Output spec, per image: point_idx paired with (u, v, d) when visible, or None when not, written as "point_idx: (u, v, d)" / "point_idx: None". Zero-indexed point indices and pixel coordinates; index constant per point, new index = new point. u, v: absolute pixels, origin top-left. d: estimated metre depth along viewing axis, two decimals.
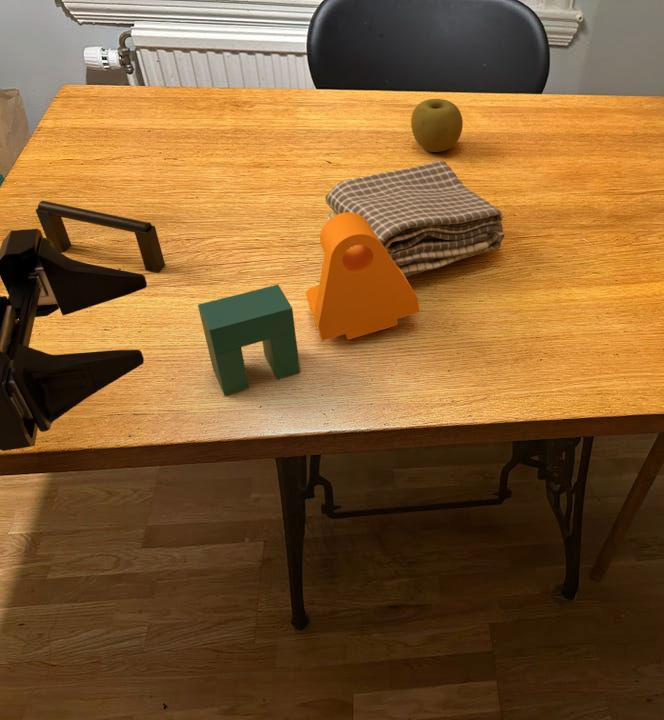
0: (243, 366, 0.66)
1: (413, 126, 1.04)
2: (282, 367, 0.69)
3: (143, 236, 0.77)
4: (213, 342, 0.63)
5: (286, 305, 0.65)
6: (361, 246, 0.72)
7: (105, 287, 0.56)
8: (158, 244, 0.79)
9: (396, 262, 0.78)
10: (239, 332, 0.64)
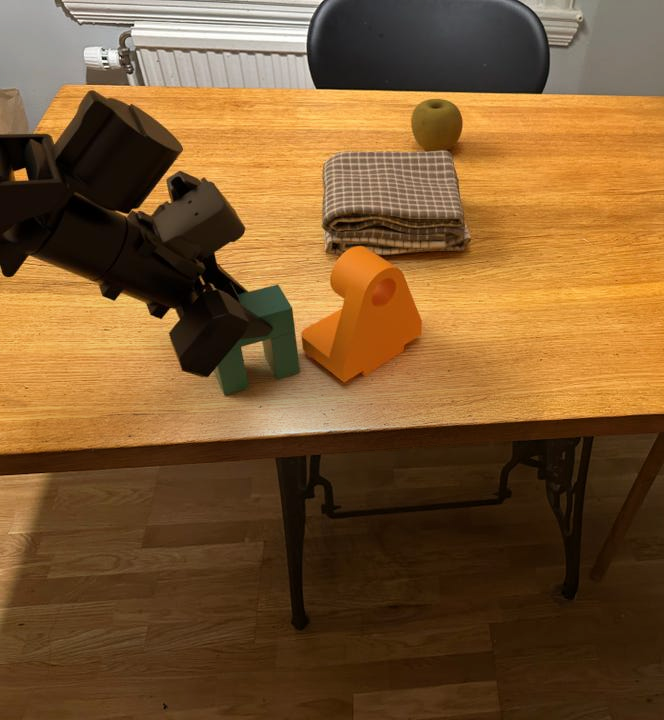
0: (243, 366, 0.66)
1: (413, 126, 1.04)
2: (282, 367, 0.69)
3: None
4: None
5: (286, 305, 0.65)
6: None
7: None
8: None
9: (342, 240, 0.83)
10: None
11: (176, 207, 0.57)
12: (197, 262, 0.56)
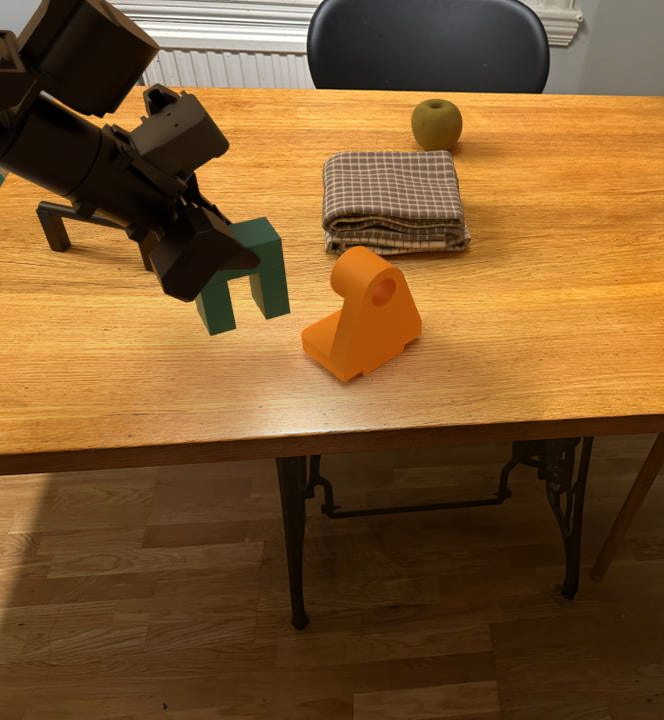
0: (230, 303, 0.62)
1: (413, 126, 1.04)
2: (271, 306, 0.65)
3: None
4: None
5: (275, 236, 0.61)
6: None
7: None
8: None
9: (342, 240, 0.83)
10: None
11: (154, 120, 0.52)
12: (178, 179, 0.52)
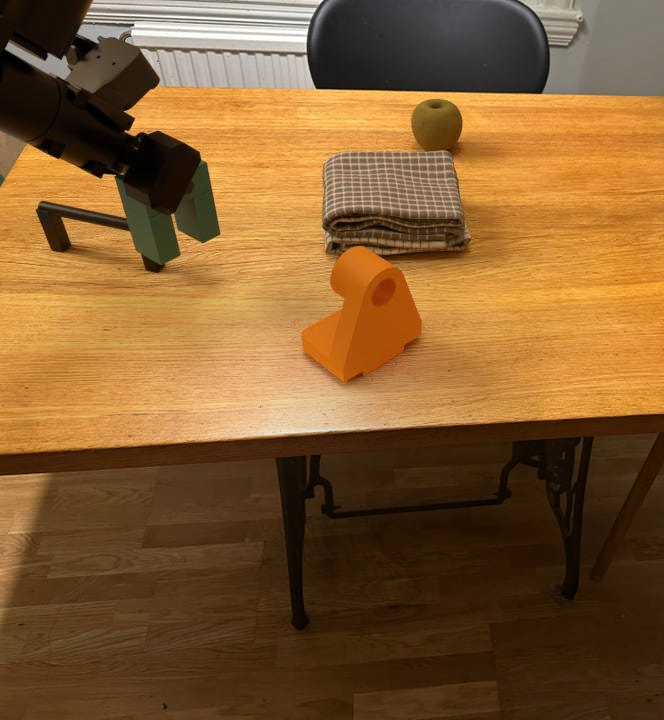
0: (173, 230, 0.70)
1: (413, 126, 1.04)
2: (205, 229, 0.73)
3: None
4: None
5: None
6: None
7: None
8: None
9: (342, 240, 0.83)
10: None
11: (85, 64, 0.59)
12: None
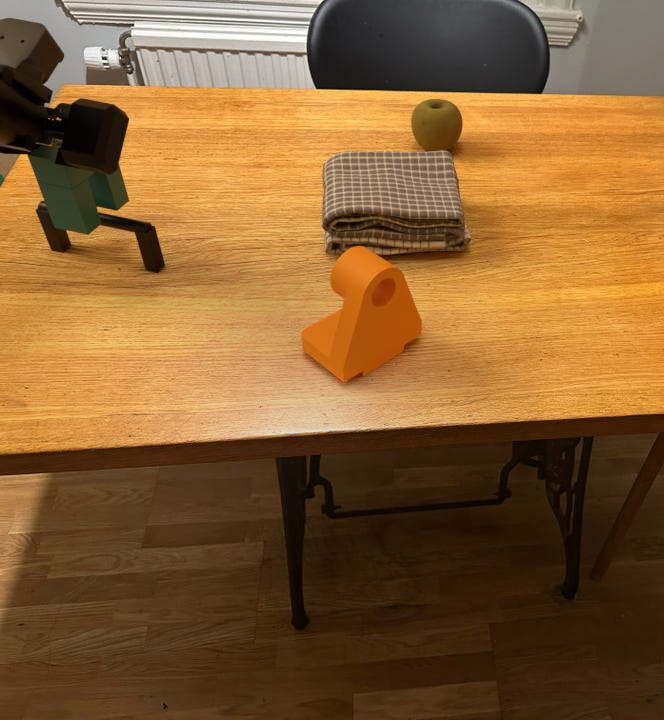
0: (93, 199, 0.74)
1: (413, 126, 1.04)
2: (117, 196, 0.78)
3: (143, 236, 0.77)
4: (68, 175, 0.70)
5: None
6: None
7: None
8: (158, 244, 0.79)
9: (342, 240, 0.83)
10: None
11: None
12: None
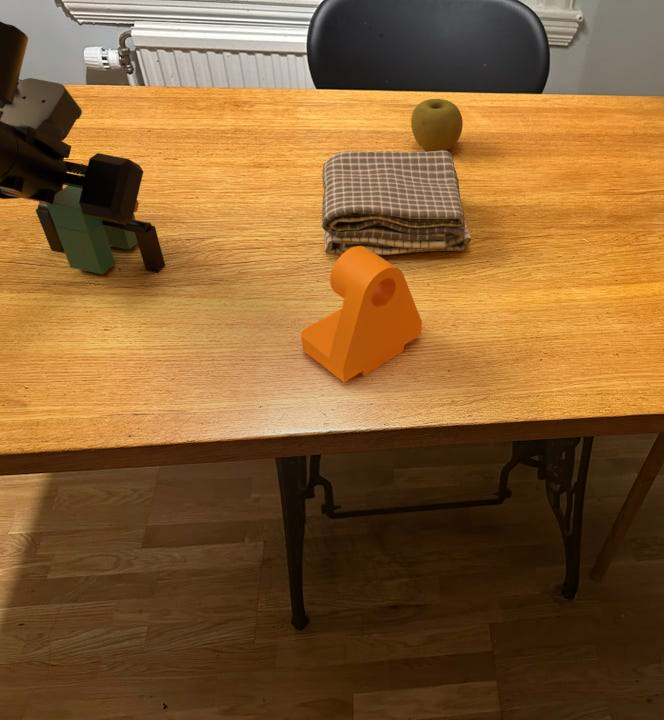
0: (107, 241, 0.78)
1: (413, 126, 1.04)
2: (130, 236, 0.82)
3: (143, 236, 0.77)
4: (85, 220, 0.74)
5: None
6: None
7: None
8: (158, 244, 0.79)
9: (342, 240, 0.83)
10: None
11: (14, 106, 0.66)
12: None
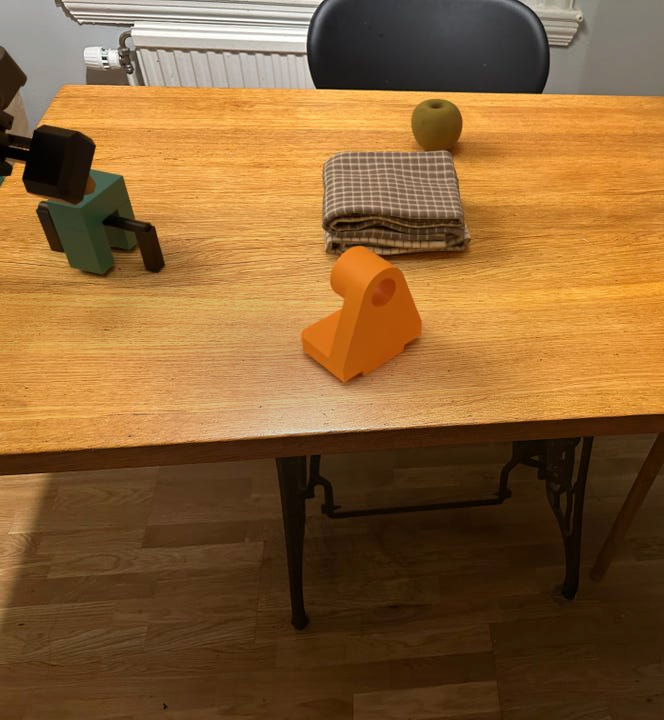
0: (107, 241, 0.78)
1: (413, 126, 1.04)
2: (130, 236, 0.82)
3: (143, 236, 0.77)
4: (85, 220, 0.74)
5: (116, 175, 0.78)
6: None
7: None
8: (158, 244, 0.79)
9: (342, 240, 0.83)
10: (98, 207, 0.75)
11: None
12: None
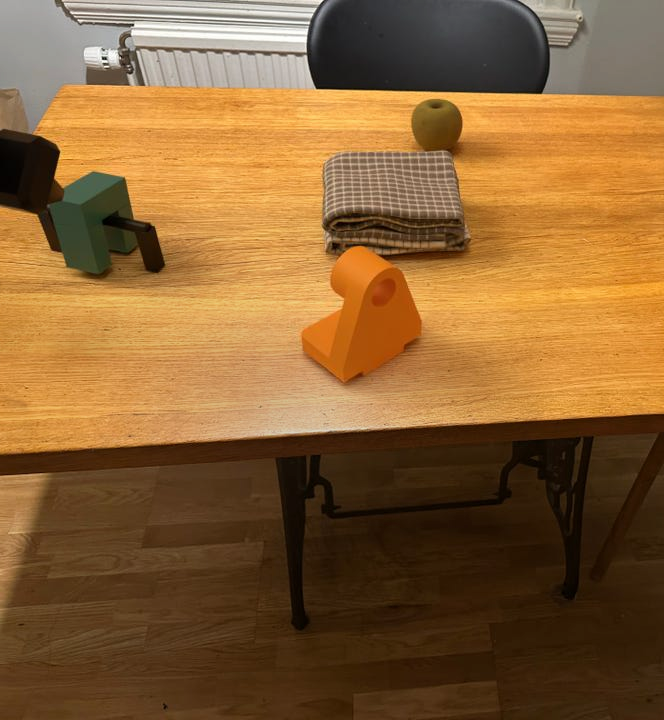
0: (105, 240, 0.78)
1: (413, 126, 1.04)
2: (128, 239, 0.81)
3: (143, 236, 0.77)
4: (85, 217, 0.73)
5: (118, 177, 0.78)
6: None
7: None
8: (158, 244, 0.79)
9: (342, 240, 0.83)
10: (98, 205, 0.75)
11: None
12: None
